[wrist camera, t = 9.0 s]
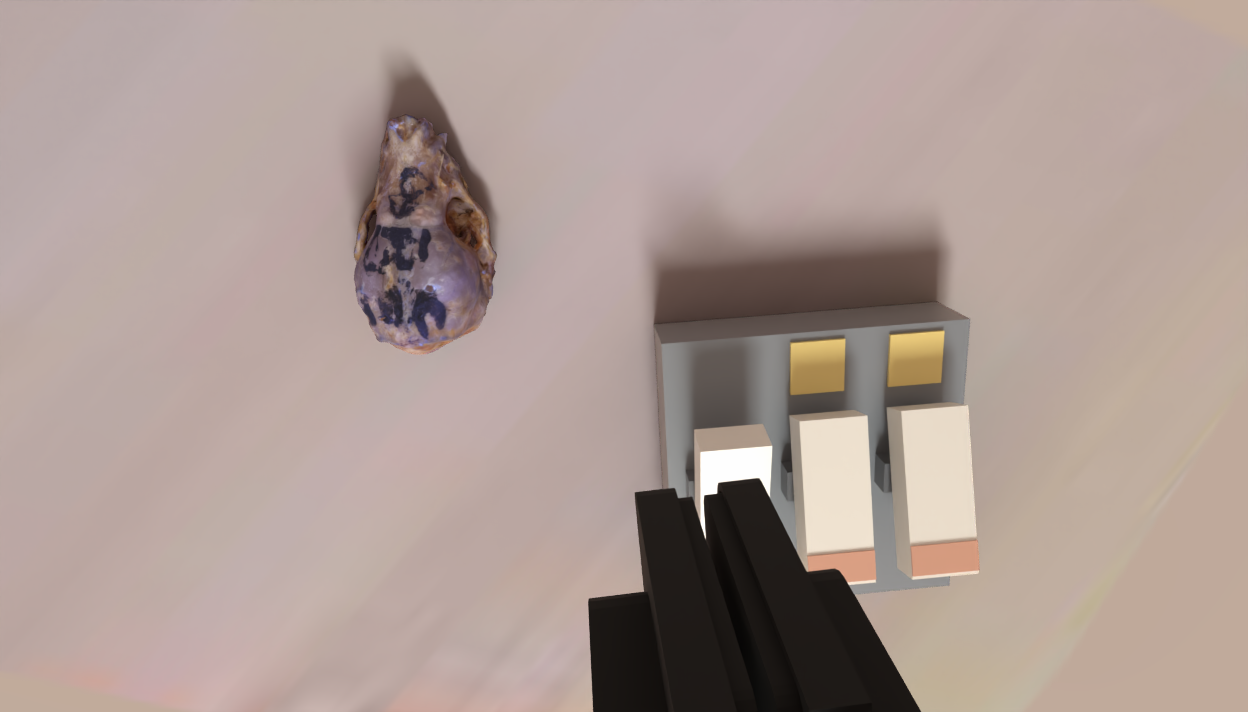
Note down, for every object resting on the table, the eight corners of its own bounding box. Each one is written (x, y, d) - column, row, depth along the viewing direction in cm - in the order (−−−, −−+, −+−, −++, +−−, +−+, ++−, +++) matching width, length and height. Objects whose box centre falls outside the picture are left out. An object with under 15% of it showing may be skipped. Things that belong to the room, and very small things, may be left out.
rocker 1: (694, 429, 40) (700, 453, 38) (762, 423, 40) (772, 447, 38) (695, 559, 44) (701, 586, 42) (757, 554, 44) (765, 580, 42)
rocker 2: (789, 415, 42) (800, 421, 40) (854, 409, 42) (868, 415, 40) (798, 575, 43) (809, 589, 40) (862, 568, 43) (876, 583, 41)
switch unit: (653, 324, 45) (664, 351, 40) (937, 301, 46) (983, 325, 41) (667, 573, 50) (678, 626, 45) (921, 550, 51) (960, 599, 46)
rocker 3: (886, 407, 42) (902, 411, 40) (950, 401, 42) (969, 405, 40) (897, 568, 43) (913, 580, 40) (960, 562, 43) (979, 573, 41)
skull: (363, 107, 40) (329, 106, 35) (509, 126, 41) (499, 128, 35) (359, 325, 44) (326, 358, 38) (493, 338, 45) (482, 372, 39)
